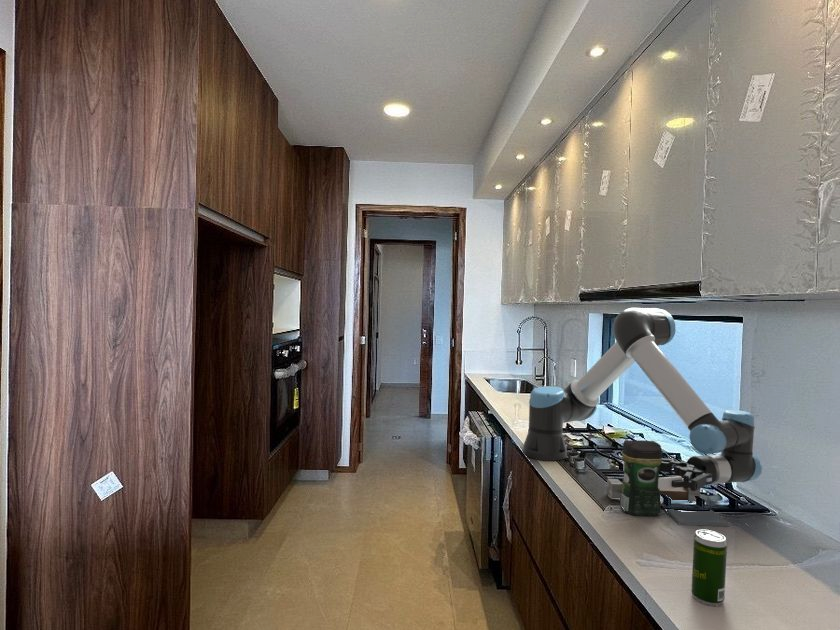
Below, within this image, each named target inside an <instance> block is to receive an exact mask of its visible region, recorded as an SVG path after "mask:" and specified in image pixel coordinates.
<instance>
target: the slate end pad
mask: <svg viewBox="0 0 840 630" xmlns="http://www.w3.org/2000/svg"><path fill="white" fill-rule="evenodd" d="M689 503H692V502H689ZM667 512H668V513H667ZM667 512H666V513H667V514H668V515H669V516H670V517H671V518H672V519H673V520H674V521H675V522H676V523H677V524H679V525H687V526H688V525H689V526H690V525H691V526H709V527H710V526H712V527H729V525H730V523H729V522H728V521H727V520H725V519H724V518H723V517H721V515H719V514H718V513H716V512H715V511H714V510H712V509H711V510H710V511H698V512H681V511H678V510H673V509H667Z"/></svg>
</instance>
